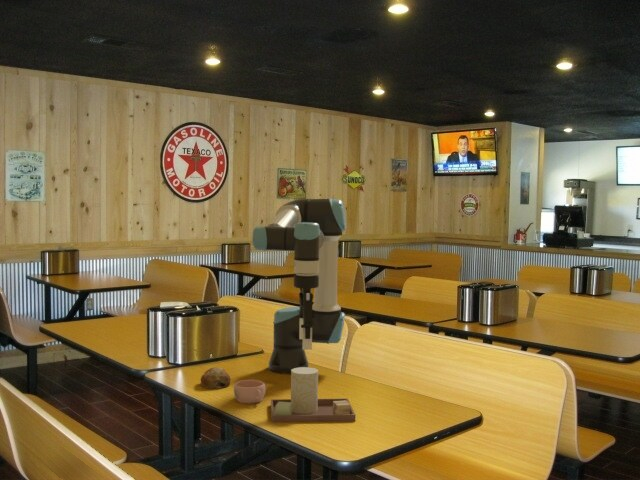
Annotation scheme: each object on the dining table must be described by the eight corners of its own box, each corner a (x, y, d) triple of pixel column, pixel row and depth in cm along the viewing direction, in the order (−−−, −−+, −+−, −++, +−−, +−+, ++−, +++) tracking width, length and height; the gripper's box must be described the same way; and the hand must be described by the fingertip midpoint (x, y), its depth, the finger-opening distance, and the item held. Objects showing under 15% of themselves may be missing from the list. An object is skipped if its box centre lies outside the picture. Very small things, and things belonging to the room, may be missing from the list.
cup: (287, 412, 199) (288, 372, 198) (294, 404, 207) (294, 366, 206) (314, 414, 197) (315, 374, 197) (319, 406, 205) (320, 368, 204)
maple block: (332, 414, 198) (333, 401, 198) (345, 413, 199) (345, 400, 199) (336, 418, 194) (337, 405, 194) (349, 417, 195) (350, 404, 195)
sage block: (278, 414, 197) (278, 401, 196) (291, 415, 196) (292, 402, 196) (275, 419, 193) (275, 405, 192) (288, 420, 192) (289, 406, 192)
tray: (270, 407, 206) (270, 399, 206) (347, 406, 208) (347, 398, 208) (272, 424, 190) (272, 416, 190) (355, 423, 192) (355, 414, 192)
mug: (228, 400, 212) (228, 381, 212) (255, 395, 218) (255, 377, 218) (246, 410, 202) (246, 391, 202) (274, 405, 208) (274, 386, 208)
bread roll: (207, 400, 224) (213, 381, 221) (193, 381, 231) (198, 362, 228) (231, 395, 231) (237, 376, 228) (217, 377, 237) (222, 358, 234)
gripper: (291, 269, 212) (290, 335, 213) (296, 279, 187) (295, 354, 188) (315, 269, 212) (314, 335, 214) (323, 279, 187) (321, 353, 189)
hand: (305, 344), depth 201 cm, fingers open, 13 cm apart
